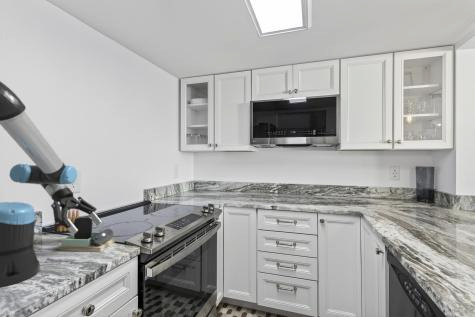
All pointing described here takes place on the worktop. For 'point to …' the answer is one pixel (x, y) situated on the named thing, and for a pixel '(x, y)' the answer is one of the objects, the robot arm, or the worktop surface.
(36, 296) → the worktop surface
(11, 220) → the robot arm
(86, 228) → the battery charger
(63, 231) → the ammunition clip
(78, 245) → the mint green tray
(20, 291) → the worktop surface
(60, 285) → the worktop surface
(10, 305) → the worktop surface
